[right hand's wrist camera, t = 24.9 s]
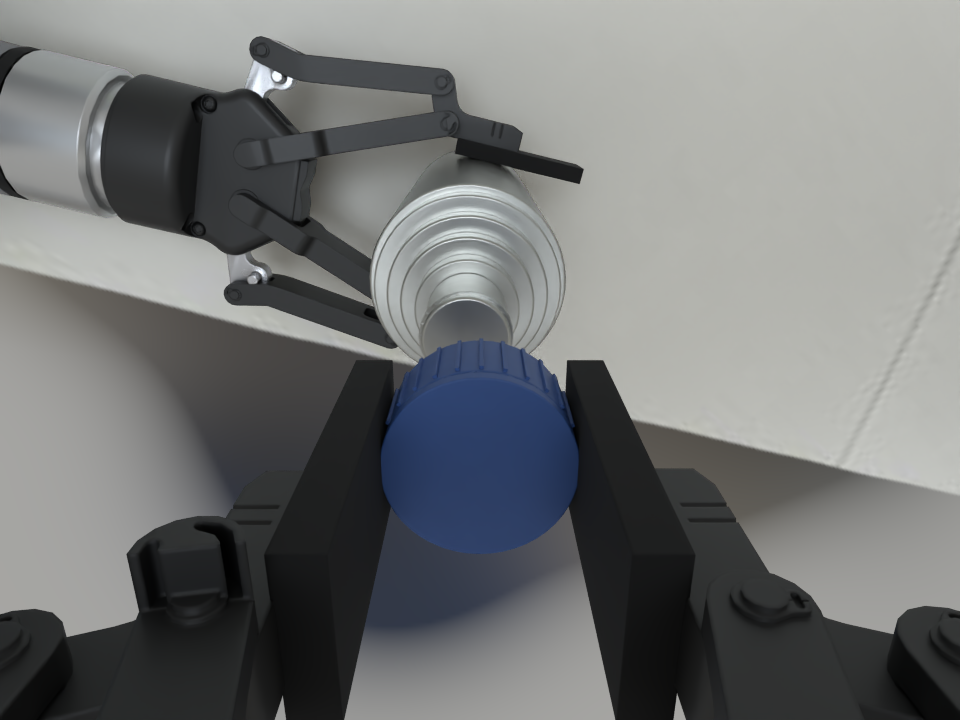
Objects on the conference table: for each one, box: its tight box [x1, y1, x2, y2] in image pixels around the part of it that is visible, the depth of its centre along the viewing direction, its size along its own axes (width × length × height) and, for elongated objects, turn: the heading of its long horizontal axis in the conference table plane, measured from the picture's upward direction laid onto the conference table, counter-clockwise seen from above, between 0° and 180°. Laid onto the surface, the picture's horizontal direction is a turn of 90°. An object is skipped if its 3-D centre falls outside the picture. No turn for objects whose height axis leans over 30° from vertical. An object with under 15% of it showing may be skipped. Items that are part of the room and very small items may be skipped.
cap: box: [381, 338, 579, 554], centre depth 14 cm, size 4×4×2 cm
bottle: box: [370, 151, 566, 362], centre depth 31 cm, size 7×7×25 cm
